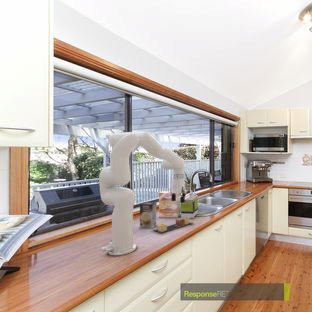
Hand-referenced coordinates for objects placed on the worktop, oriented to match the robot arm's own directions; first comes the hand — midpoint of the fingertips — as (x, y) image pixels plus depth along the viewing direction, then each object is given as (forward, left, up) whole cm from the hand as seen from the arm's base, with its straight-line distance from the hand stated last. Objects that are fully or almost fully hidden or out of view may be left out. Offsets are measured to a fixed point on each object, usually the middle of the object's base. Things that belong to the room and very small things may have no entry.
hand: (178, 201), depth 149 cm
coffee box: (-13, +15, -17) cm, 26 cm away
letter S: (+1, 0, -16) cm, 16 cm away
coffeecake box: (+12, +26, -17) cm, 33 cm away
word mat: (-3, 0, -17) cm, 17 cm away
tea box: (+23, +15, -17) cm, 32 cm away
